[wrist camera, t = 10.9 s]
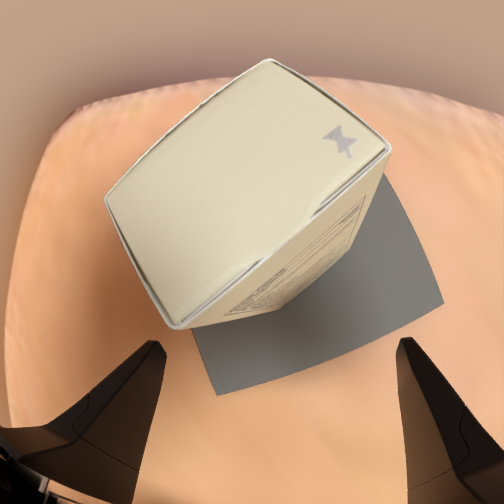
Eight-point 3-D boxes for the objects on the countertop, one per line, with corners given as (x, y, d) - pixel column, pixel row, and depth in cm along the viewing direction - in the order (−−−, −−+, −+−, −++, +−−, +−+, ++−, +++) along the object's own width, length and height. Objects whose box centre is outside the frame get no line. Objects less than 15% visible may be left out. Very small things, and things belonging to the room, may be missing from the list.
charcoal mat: (439, 303, 15) (444, 303, 14) (220, 392, 18) (216, 395, 17) (351, 129, 19) (352, 123, 18) (162, 214, 21) (157, 211, 20)
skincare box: (307, 199, 18) (276, 46, 6) (352, 249, 17) (407, 139, 5) (230, 262, 18) (93, 195, 7) (271, 316, 17) (168, 338, 5)
